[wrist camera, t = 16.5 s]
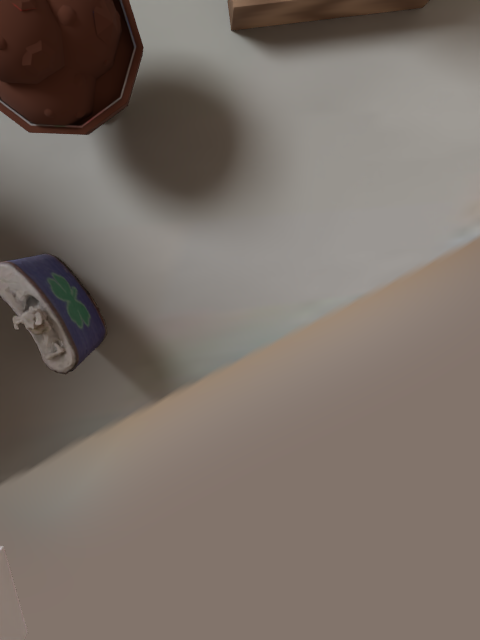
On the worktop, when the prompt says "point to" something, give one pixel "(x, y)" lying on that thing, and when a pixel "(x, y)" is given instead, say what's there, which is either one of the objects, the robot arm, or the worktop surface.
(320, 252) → the worktop surface
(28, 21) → the ice cream bowl
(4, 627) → the robot arm
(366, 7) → the board
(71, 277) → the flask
